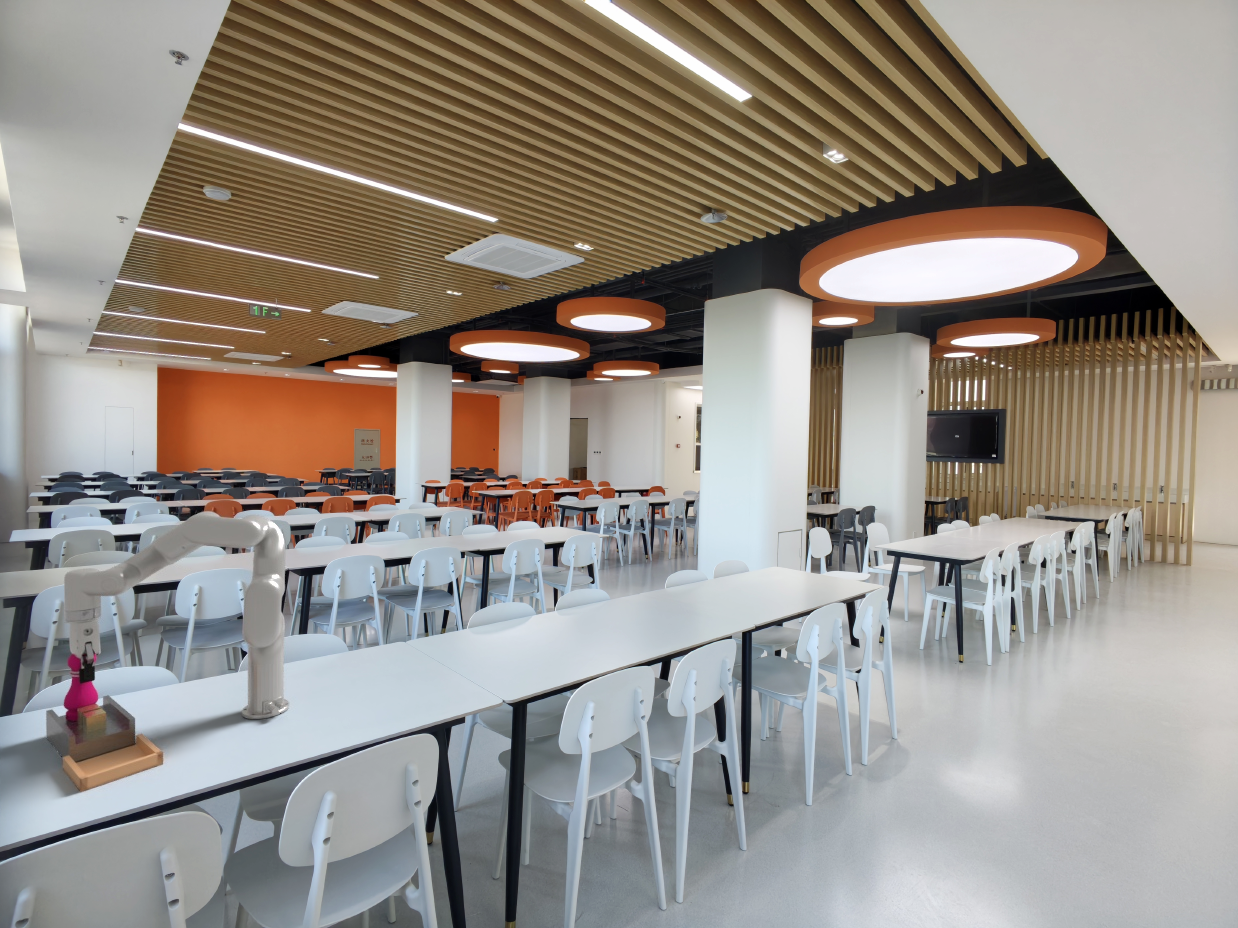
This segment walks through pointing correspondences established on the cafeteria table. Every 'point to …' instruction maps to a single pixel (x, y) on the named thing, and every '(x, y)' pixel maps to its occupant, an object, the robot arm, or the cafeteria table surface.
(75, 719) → the pepper mill
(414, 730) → the cafeteria table surface
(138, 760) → the tray
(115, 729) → the channel bed
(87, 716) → the yellow wooden cube
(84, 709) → the yellow tan cube
